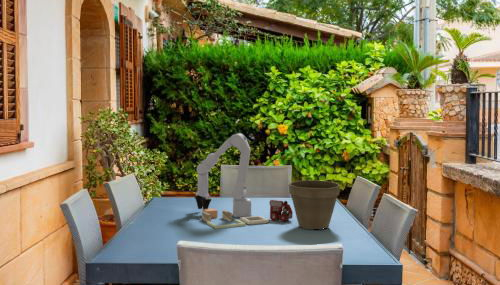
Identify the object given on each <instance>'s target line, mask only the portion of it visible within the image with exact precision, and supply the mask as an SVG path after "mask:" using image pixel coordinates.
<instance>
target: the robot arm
mask: <svg viewBox="0 0 500 285" xmlns="http://www.w3.org/2000/svg"><path fill="white" fill-rule="evenodd" d="M231 147H235V148H236V149H238V151H239V152H240V157H239V165H238V171H237V177H236V182H235V185H234V189H233V190H232V197H233V198H232V212H231V213H232V217H234V218H240V217H252V202H251V199H250V198H248V197H246V196H247V195H248V189H247V186H248V185H247V180H248V179H247V177H248V171H249V164H250V157H251V151H252V150H251V147H250V144H249V142H248V138H247V137H246V136H245V135H244V134H243V133H241V132H238V133H234V134H231V136H230V137H229V138H227V139H226V140H225V141H224V142H223V143H222V144H221V145H220V147H219V148H218V149H217V150H216V151H215V152H211V153H208V154H207V156H206V158H205V159H204V160H202V161H201V163H199V164H198V165H197V167H196V172H197V191H195V196H194V199H195V202H196V205H197V209H198V210H203V209H209V206H210V203H211V202H212V198H210V197H211V195H210V194H209V172H210V171H211V169H212V168H213V167H214V166H215V165H217V163H218V162H219V160H220V156H222V155H223V154H224V153H225V152H226V151H227V150H228V149H229V148H231Z"/></svg>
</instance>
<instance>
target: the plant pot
mask: <svg viewBox="0 0 500 285" xmlns="http://www.w3.org/2000/svg"><path fill="white" fill-rule="evenodd" d="M288 189H289V191H288V192H289V194H290V196H291V199H292V204H293V207H294V208H293V209H294V212H295V216H296V219H297V223H298V227H299V226H300V227H299V228H301V227H302V228H301V229H303V228H306V229H305V230H308V229H323V228H327V227H328V228H329V226H330V223H331V220H332V216H333V213H334V211H335V210H334V209H335V206H336V202H337V199H338V196H340V192H341V191H340V190H341V185H340V184H339V183H337V182H334V181H328V180H320V179H319V180H316V179H314V180H313V179H310V180H308V179H307V180H304V179H303V180H296V181H292V182H289V183H288ZM328 228H327V229H328Z"/></svg>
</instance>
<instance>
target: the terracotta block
mask: <svg viewBox="0 0 500 285" xmlns="http://www.w3.org/2000/svg"><path fill="white" fill-rule="evenodd" d="M202 212H206V213H208V214H210V215H211V219H217V218H218V210H217V209H215V208H208V209H203V208H202Z"/></svg>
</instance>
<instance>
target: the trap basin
mask: <svg viewBox="0 0 500 285" xmlns="http://www.w3.org/2000/svg"><path fill="white" fill-rule="evenodd" d="M239 221H241V222H244V223H246V225H249V226H252V225H262V224H264V223H265V224H269V219H267V218H266V217H263V216H260V215H253V216H245V217H239Z"/></svg>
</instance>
